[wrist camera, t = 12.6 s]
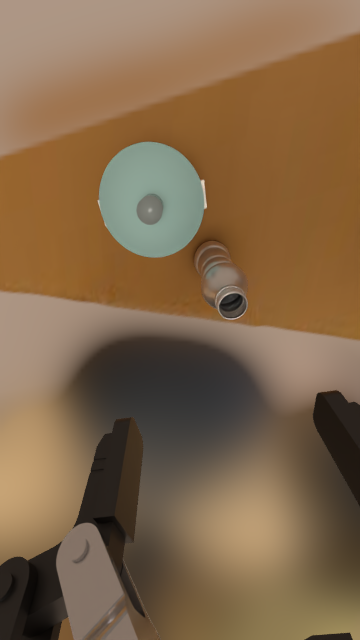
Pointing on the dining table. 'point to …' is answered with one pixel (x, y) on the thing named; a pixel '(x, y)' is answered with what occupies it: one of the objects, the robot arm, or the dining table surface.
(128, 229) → the lid
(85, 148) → the dining table surface
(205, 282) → the plastic bottle
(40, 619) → the robot arm
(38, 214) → the dining table surface
